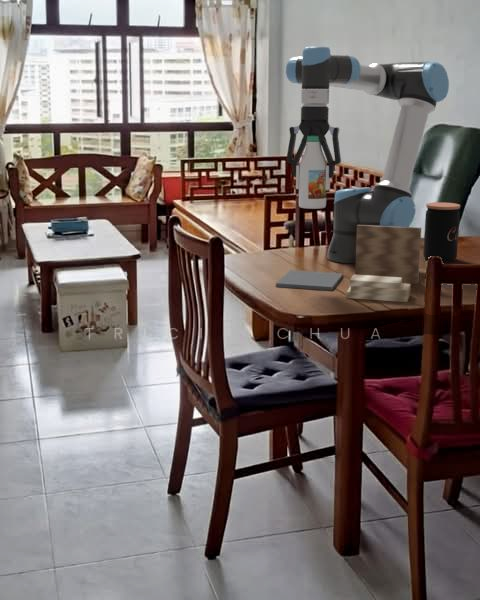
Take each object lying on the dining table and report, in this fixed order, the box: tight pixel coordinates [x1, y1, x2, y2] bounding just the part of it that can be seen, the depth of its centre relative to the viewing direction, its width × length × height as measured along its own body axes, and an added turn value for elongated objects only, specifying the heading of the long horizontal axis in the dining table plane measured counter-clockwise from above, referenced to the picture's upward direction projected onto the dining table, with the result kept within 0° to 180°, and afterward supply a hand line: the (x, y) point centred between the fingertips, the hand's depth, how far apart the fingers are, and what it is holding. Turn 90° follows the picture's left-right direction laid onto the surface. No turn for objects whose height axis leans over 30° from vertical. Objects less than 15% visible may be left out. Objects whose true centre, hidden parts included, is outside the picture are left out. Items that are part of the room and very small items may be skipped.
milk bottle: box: [298, 136, 328, 210], centre depth 235 cm, size 8×8×20 cm
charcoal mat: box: [275, 269, 344, 292], centre depth 243 cm, size 16×18×1 cm
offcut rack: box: [345, 225, 422, 303], centre depth 233 cm, size 18×26×16 cm
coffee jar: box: [422, 201, 461, 263], centre depth 272 cm, size 11×11×18 cm
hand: (312, 188), depth 236 cm, fingers closed on milk bottle, 8 cm apart
